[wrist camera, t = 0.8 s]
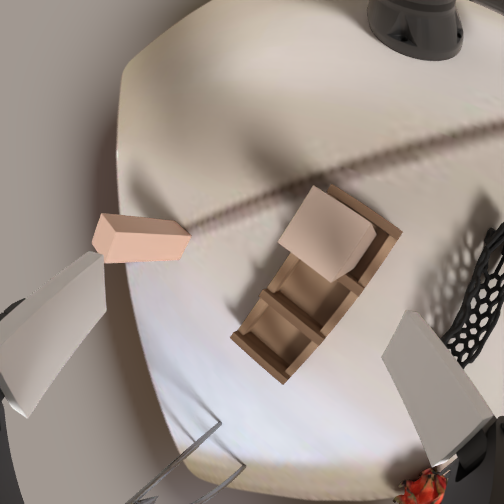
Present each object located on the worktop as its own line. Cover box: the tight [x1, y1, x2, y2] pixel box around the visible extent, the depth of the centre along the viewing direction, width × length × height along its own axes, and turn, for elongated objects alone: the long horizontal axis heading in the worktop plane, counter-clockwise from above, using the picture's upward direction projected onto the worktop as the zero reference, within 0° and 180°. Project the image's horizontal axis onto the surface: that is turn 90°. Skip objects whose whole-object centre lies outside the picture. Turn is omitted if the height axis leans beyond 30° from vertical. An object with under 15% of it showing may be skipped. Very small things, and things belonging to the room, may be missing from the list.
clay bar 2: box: [278, 185, 377, 282], centre depth 23 cm, size 4×4×14 cm
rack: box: [230, 184, 402, 385], centre depth 30 cm, size 22×9×4 cm, turn 146°
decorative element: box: [440, 222, 504, 370], centre depth 21 cm, size 22×5×6 cm, turn 153°
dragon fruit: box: [393, 468, 448, 504], centre depth 20 cm, size 8×8×12 cm
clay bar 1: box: [92, 213, 191, 263], centre depth 36 cm, size 4×4×14 cm
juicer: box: [125, 422, 246, 504], centre depth 27 cm, size 10×11×30 cm
